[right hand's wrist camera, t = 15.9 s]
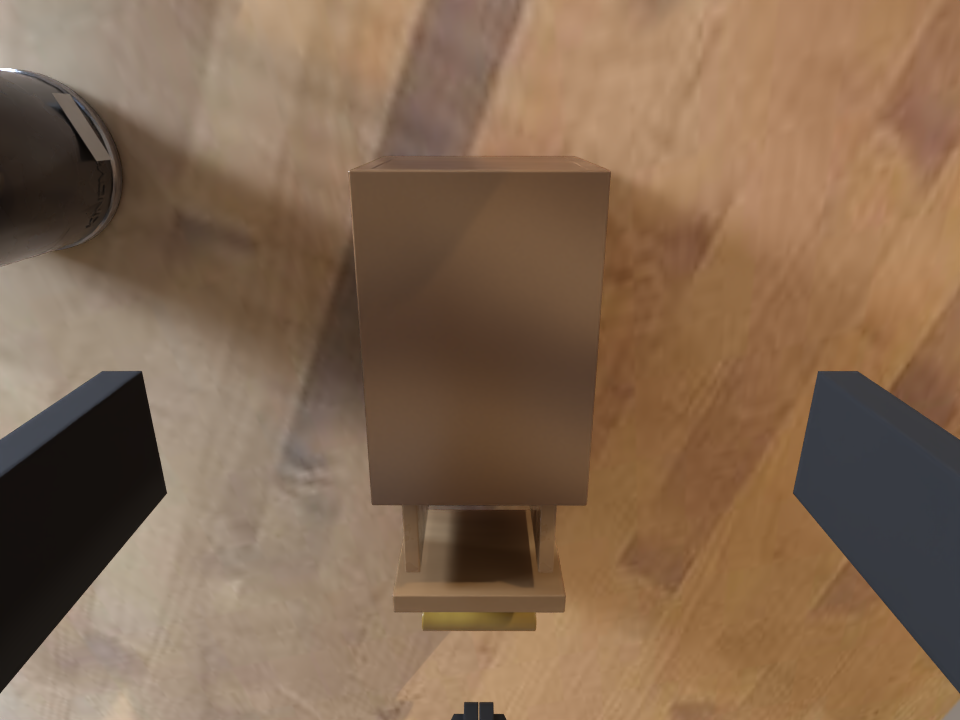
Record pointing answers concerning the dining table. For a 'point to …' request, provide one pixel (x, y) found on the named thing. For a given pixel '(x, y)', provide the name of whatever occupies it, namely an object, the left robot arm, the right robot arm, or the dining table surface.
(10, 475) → the right robot arm
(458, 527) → the drawer
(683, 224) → the dining table surface
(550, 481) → the cabinet
